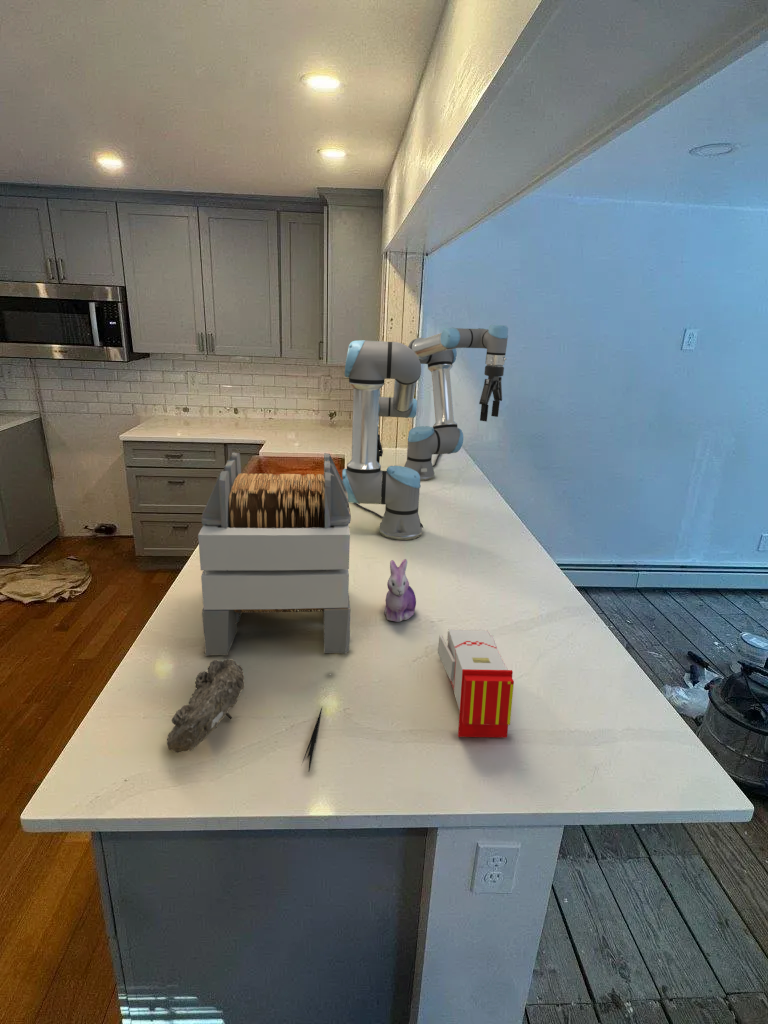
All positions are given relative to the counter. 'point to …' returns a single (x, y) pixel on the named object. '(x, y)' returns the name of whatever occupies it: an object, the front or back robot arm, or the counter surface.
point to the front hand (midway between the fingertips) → (367, 474)
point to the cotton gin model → (275, 551)
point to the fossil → (206, 705)
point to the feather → (313, 740)
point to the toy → (478, 682)
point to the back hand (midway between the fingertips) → (489, 418)
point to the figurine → (399, 594)
